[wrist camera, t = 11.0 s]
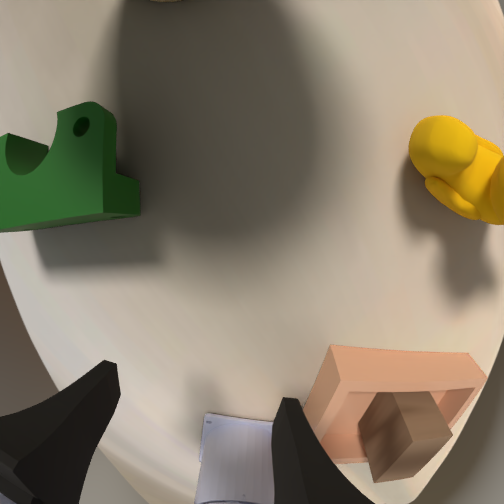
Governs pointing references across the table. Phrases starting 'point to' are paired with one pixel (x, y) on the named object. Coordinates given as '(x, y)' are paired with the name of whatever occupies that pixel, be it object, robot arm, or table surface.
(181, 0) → the plant pot
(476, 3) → the table surface
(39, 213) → the clamp
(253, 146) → the table surface
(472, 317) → the table surface
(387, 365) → the pink rectangular tray
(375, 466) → the tan wooden block
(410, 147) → the duckling
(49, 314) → the table surface
